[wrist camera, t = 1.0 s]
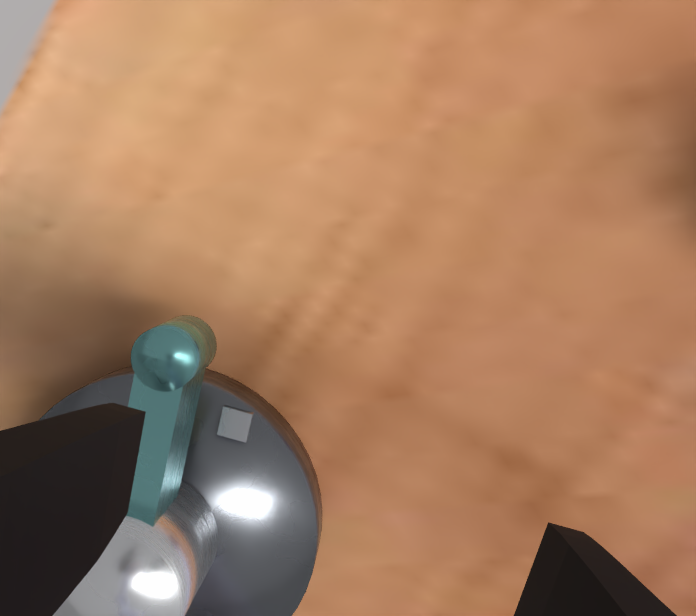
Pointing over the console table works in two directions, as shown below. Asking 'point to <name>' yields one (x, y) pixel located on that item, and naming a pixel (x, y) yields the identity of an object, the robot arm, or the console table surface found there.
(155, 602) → the teal ball-top lever
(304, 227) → the console table surface
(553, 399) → the console table surface
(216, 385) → the post plate
